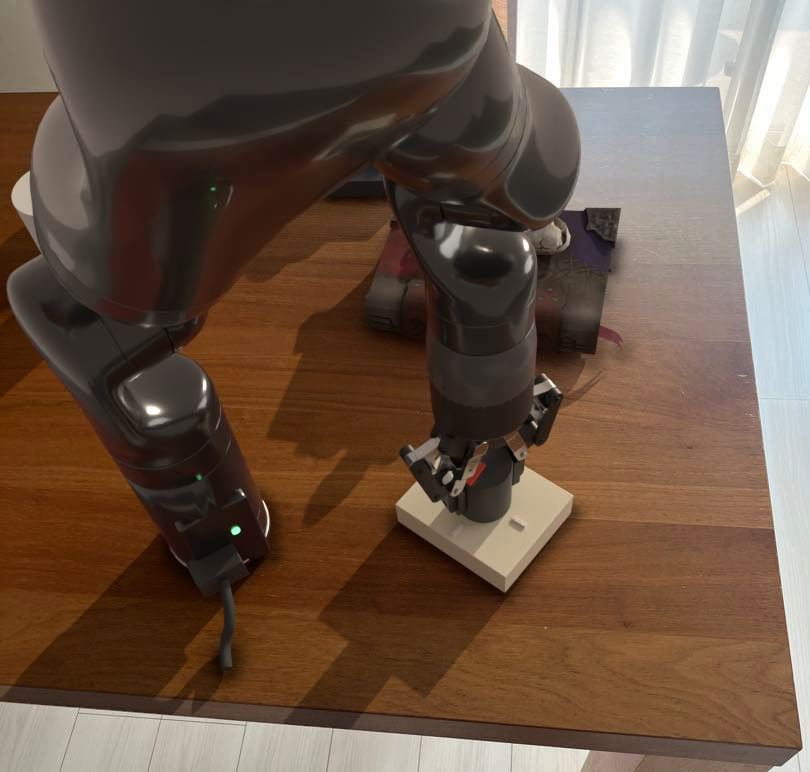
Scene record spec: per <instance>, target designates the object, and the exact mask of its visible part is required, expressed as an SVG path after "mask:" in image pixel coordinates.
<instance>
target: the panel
mask: <svg viewBox="0 0 810 772" xmlns="http://www.w3.org/2000/svg"><path fill="white" fill-rule="evenodd" d="M435 461H436V462H435V465H434V467H435V468H436V470H437V468H438V465H439V462H440V456H438V457H437V459H435ZM435 473H436V472H435ZM435 473H433V474H435ZM573 501H574V495H573V494H572V493H570V492H568V491H567V490H565V489H564V488H562V487H560V486H558V485H557V484H555V483H553V482H552V481H550V480H548V479H547V478H545V477H544V476H542V475H540V474H538V473H537V472H535V471H533V470H532V469H530V468H528V467H527V466H525V465H524V472H523V474H522V475H520V482H519V483H517V484H515V485H513V486H512V498H511V505H510V508H509V510H508V511H507V513H506V514H505V515H504V516H503V517H501V518H500V519H498V520H496V521H493V522H489V523H478V522H474V521H471V520H469V519H468V518H466V517H465V516H464V515H463V514H461V515H459V516H458V515H457V514H456V513H455V512H453V513H450V512H449V510H448V509H447V508H446V506H445V505H444V504H443V502H442V501H441V500H440V501H438V502H436V503H433V502H432V501H431V500H430V499H429V497H428V496H427V494H426V493H425V492H424V490H423V489H422V488H421V486H420V485H419V483H418V482H417V481H416V480H415V482H414V483H413V484H412V486H411V487H410V488H409V489H408V490H407V491H405V493H404V494H403V495H402V496H401V498H399V500H397V502H396V503H395V504H394V506H395V511H396V517H397V522H399V524H402V525H403V526H404V527H406V528H407V529H409V530H410V531H412V532H414V533H415V534H416V535H418V536H420V537H421V538H422V539H424V540H425V541H427V542H428V543H430V544H431V545H433V546H434V547H436V548H437V549H439V550H440V551H442V552H443V553H444V554H446V555H447V556H449V557H451V558H452V559H454V560H455V561H457V562H458V563H459V564H461V565H462V566H463V567H466V568H467V569H469V570H470V571H471V572H473V573H475V574H476V575H477V576H479V577H480V578H482V579H483V580H485V581H486V582H488V583H489V584H490V585H492V586H494V587H495V588H497V589H498V590H499V591H501V592H503V593H506V592H507V591H508V590H509V589H510V587H511V586H513V584H514V583H515V581H516V580H518V578H519V576H521V574H522V573H523V572H524V570H525V569H526V568H527V567H528V566H529V565H530V564H531V562H532V561H533V560H534V558H536V556H537V555H538V554H539V552H541V550H542V549H543V548H544V546H545V545H546V544H547V542H548V541H550V539H551V538H552V537H553V535H554V534H555V533H556V532H557V530H558V529H559V528H560V527H561V526H562V525H563V524H564V522H565V521H566V519H568V517H569V516H570V515H571V514H572V509H573V508H572V507H573Z"/></svg>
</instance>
